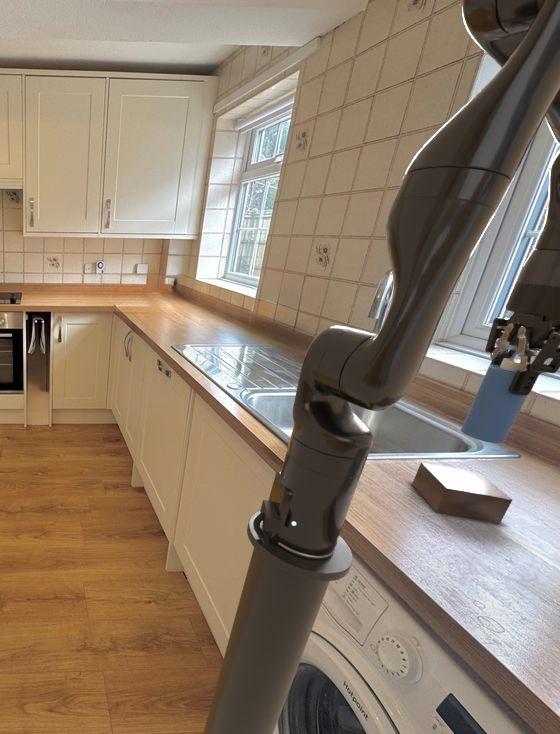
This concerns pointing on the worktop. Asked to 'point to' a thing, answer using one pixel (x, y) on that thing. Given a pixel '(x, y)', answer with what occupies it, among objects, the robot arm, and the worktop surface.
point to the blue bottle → (495, 404)
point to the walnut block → (461, 493)
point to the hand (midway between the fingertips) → (504, 387)
